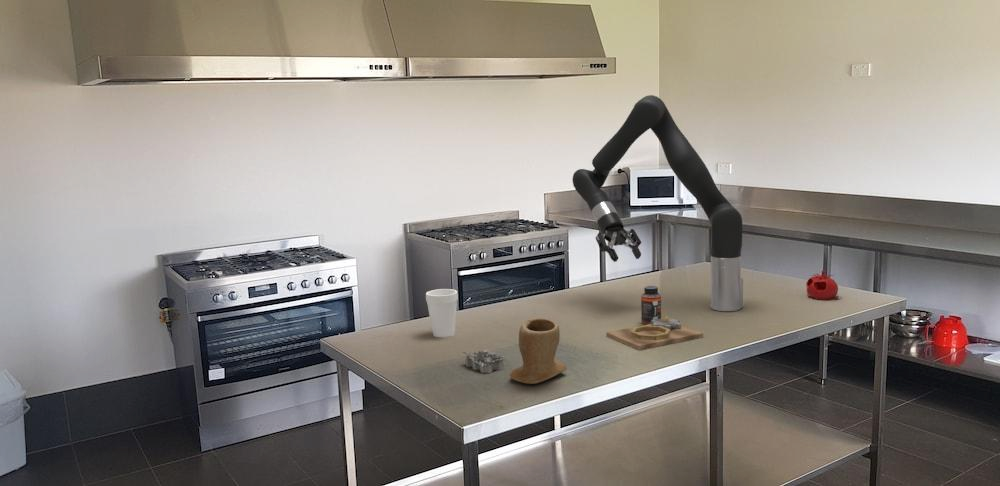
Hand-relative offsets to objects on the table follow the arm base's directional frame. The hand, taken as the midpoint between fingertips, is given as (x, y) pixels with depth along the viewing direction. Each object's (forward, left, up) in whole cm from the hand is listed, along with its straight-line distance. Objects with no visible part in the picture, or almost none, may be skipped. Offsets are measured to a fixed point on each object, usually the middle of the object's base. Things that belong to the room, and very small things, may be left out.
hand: (627, 258), depth 244 cm
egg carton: (+60, +21, -19) cm, 66 cm away
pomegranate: (-65, +18, -19) cm, 70 cm away
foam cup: (+58, -13, -18) cm, 62 cm away
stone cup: (+52, +37, -19) cm, 66 cm away
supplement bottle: (0, +12, -18) cm, 22 cm away
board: (+8, +24, -18) cm, 31 cm away
